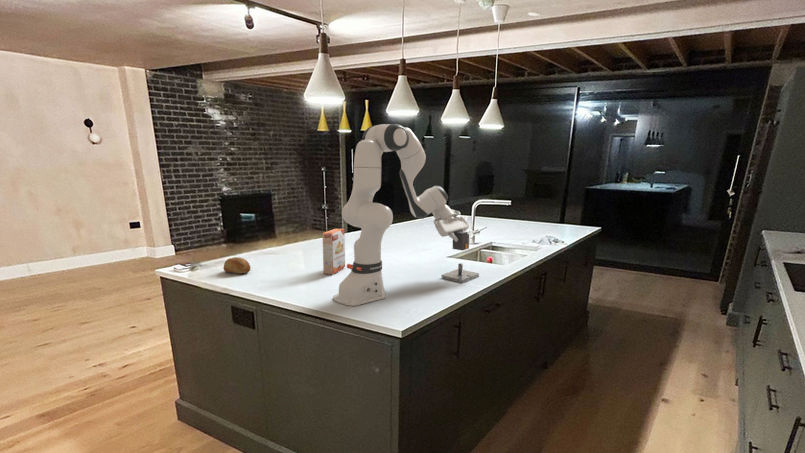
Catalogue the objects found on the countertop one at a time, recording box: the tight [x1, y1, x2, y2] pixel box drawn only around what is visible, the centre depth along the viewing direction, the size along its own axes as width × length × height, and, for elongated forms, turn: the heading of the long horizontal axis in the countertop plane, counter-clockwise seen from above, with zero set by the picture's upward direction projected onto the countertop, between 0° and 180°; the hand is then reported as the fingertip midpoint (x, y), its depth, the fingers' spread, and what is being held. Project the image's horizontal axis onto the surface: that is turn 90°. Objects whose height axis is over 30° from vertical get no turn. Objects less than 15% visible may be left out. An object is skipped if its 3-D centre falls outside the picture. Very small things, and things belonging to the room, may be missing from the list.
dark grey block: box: [452, 231, 470, 251], centre depth 186 cm, size 6×6×8 cm
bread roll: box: [222, 256, 251, 274], centre depth 199 cm, size 10×15×8 cm, turn 68°
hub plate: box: [440, 263, 480, 284], centre depth 189 cm, size 14×12×6 cm
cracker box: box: [322, 228, 346, 275], centre depth 200 cm, size 14×6×21 cm, turn 163°
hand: (462, 239), depth 186 cm, fingers closed on dark grey block, 5 cm apart
